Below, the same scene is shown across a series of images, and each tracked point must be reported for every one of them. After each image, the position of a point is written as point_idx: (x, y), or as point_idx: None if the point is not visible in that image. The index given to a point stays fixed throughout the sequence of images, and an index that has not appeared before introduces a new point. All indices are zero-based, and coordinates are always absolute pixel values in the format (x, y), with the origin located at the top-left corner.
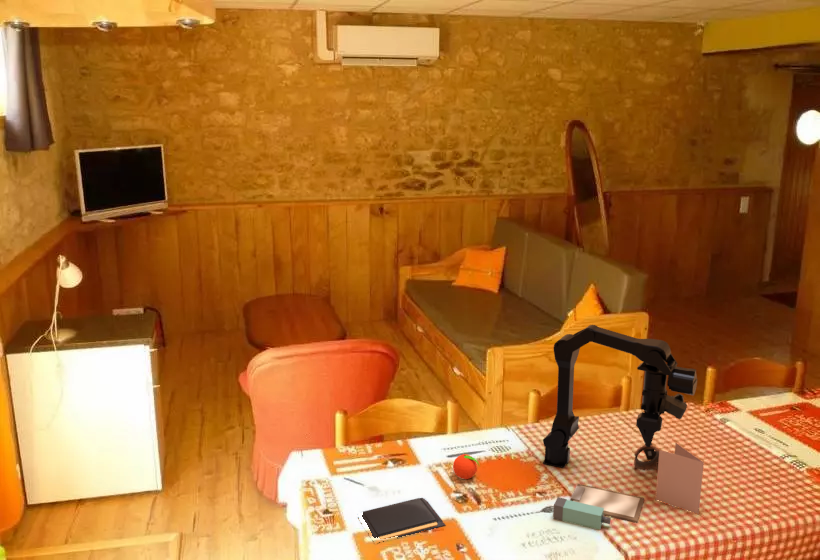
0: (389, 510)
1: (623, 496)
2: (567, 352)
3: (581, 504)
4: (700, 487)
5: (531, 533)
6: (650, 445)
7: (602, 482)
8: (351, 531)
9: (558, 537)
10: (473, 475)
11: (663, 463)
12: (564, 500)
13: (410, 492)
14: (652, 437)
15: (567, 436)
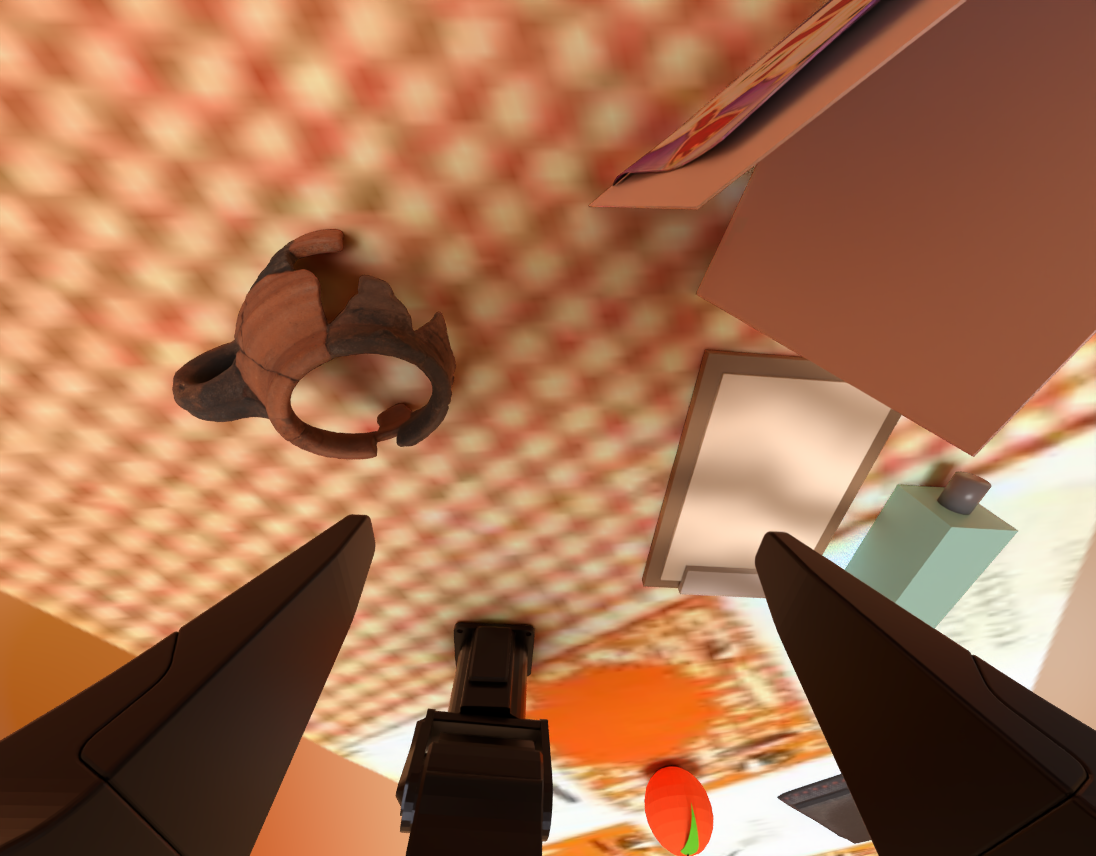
0: (854, 826)
1: (718, 441)
2: None
3: (911, 593)
4: None
5: (950, 637)
6: (806, 545)
7: (591, 515)
8: None
9: (984, 584)
10: (686, 776)
11: (880, 330)
12: None
13: (756, 810)
14: (984, 670)
15: (543, 788)
